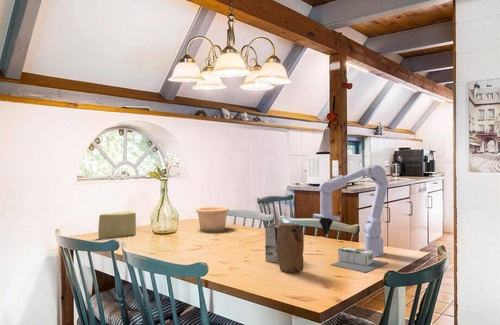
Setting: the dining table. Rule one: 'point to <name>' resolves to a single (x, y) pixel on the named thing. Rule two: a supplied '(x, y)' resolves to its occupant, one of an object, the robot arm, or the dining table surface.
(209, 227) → the pottery
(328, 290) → the dining table surface
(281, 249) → the block
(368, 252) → the syrup box
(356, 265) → the mat
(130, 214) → the cheese
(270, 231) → the coffee box
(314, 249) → the dining table surface
